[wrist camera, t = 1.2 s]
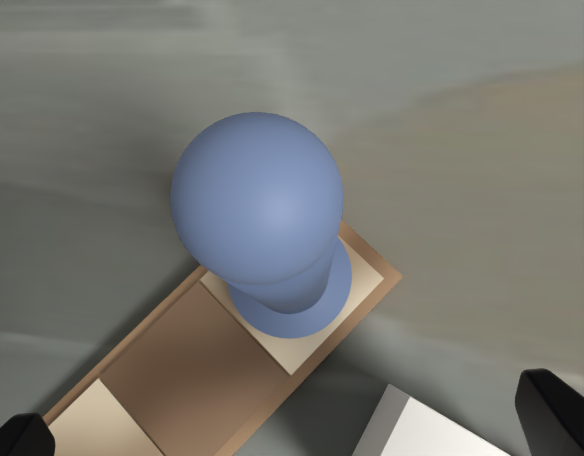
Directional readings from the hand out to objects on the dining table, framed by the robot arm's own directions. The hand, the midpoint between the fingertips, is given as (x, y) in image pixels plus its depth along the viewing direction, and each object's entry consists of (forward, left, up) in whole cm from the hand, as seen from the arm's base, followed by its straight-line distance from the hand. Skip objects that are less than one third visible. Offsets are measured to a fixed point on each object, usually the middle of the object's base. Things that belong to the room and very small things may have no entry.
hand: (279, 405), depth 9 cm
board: (+3, +6, -11) cm, 13 cm away
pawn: (+3, -2, -10) cm, 11 cm away
